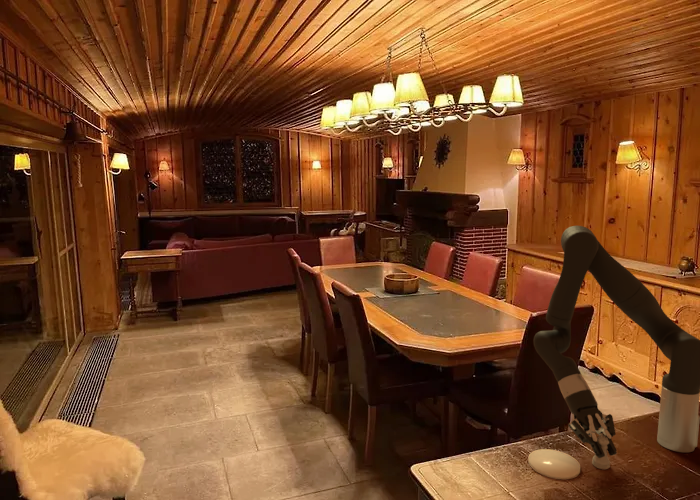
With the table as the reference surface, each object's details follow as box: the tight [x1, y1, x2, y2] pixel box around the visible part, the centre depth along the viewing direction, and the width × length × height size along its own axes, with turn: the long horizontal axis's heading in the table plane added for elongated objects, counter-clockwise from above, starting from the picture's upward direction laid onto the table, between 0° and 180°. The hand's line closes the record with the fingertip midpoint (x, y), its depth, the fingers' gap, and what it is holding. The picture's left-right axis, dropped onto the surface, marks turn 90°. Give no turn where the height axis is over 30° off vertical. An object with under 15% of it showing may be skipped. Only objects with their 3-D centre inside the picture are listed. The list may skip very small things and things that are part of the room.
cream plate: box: [527, 448, 581, 480], centre depth 136 cm, size 13×13×1 cm
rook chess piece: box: [591, 435, 611, 470], centre depth 136 cm, size 4×4×8 cm
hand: (607, 455), depth 134 cm, fingers closed on rook chess piece, 3 cm apart
